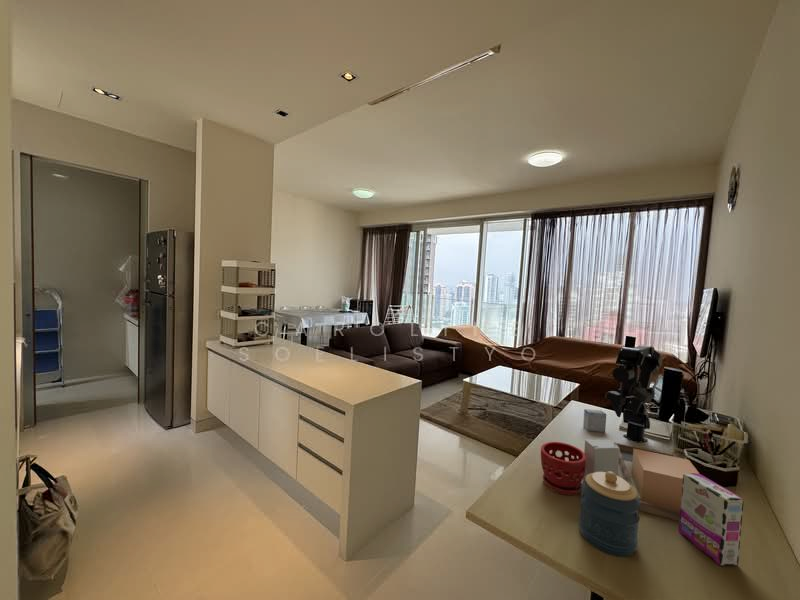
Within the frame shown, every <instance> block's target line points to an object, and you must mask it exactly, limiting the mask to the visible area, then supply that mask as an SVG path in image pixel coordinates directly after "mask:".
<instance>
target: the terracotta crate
mask: <svg viewBox="0 0 800 600" xmlns="http://www.w3.org/2000/svg"><path fill="white" fill-rule="evenodd" d="M691 473H698V474H700V472H699V471H698V470H697V468H696V467H695V466H694V465H693V463H692V462H691V461H690V459H687V458H681V457H678V456H677V457H673V456H668V455H663V454H658V453H653V452H648V451H644V450H639V449H634V448H633V462H632V463H631V476H630V477H632V479H633V482H634V484H635V487H636V489H637V492H638V495H639V497H640V500H641V501H643V502H647V503H651V504H655V505H659V506H663V507H667V508H670V509H674V510H678V511H680V509H681V496H682V484H683V474H691Z"/></svg>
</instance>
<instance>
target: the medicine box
mask: <svg viewBox="0 0 800 600" xmlns="http://www.w3.org/2000/svg"><path fill="white" fill-rule="evenodd" d="M583 410H584V412H583V424H582V426H583V428H584V430H586V431H588V432H589V431H590V432H602V433H606V426H607V425H606V423H607V413H606V412H605V411H603V410H601V409H590V408H589V409H586V408H585V409H583Z"/></svg>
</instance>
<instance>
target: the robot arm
mask: <svg viewBox="0 0 800 600" xmlns="http://www.w3.org/2000/svg"><path fill="white" fill-rule="evenodd" d="M615 364H616V365H618V367H616V368H614V369H613V371H612V377H613V379H614V380H615V382H619V383H620V388H617V391H615V390H611V391H607V392H605V397H604V398H605V399H607V400H608V401H609V402H610V405H611V406H612V408H613V410H614V412H615V414H616V417H618V418H621V416H622V419H623V420H622V421H623V423H624V424H627V428H626V434H623V435H622V436H623V437H624V438H627V439H629V440H631V441H633V442H636V443H642V442H648V441H649V440H648V438H646V437H645V431H646V430H647V429H648V430H650V429H651V420H650V418H649V415H648V414H649V412H648V410H647V407H646V404H647V403H650V402H651V401H652V399H655V397H656V396H655V394H656V392H655V391H656V390H655V389H653V388H650V387H651V384H652V380H653V379H652V378H653V376H654V375H655V374H656V373H658V372H659V370H660V368H661V367H662V365H663V359H662V355H661V353H660V352H658V351H657V350H656V349H655V346H653V345H648V344H647V345H646V344H639V345H638V346H634V347H625V346H622V347H621V349H619V352H618V354H617V358H616V361H615ZM639 371H640V372H639ZM627 399H629V401H628V402H627V403H626V401H627ZM625 405H626V406H625ZM623 406H625V408H624V409H623ZM622 410H623V412H622Z"/></svg>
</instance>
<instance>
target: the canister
mask: <svg viewBox="0 0 800 600" xmlns="http://www.w3.org/2000/svg"><path fill="white" fill-rule="evenodd" d="M581 483H582V485H581V488H582V490H581V492H582V494H581V495H580V513H579V514H580V515H579V517H578V526H579V532H580V534H581V535H582V537H583V538H584V539H585V541H586V542H588V543H589V544H590V545H591V546H593V547H594V548H595V549H597V550H599V551H601V552H603V553H606V554H607V555H611V556H615V557H620V558H624V557H625V558H627V557H631V556H633V555H634V554H635V553H636V552H637V549H638V546H639V544H638V543H639V538H638V532H639V522H640V521H641V520H640V519H641V517H640V513H639V512H638V511H639V509H640V507H641V503H640V501H639V499H638V498H637V491H636V490H635V488H634V487H633V486H632V485H630V484H629V483H628V482H627V481H626V480H625V479H624V477H623V478H622V477H621V476H619V475H618V476H617V475H616V474H615V473H614V472H611V471H608V472H595V473H590V474H588V475H587V476H586V478H585V481H584V482H583V481H582V482H581Z"/></svg>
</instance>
